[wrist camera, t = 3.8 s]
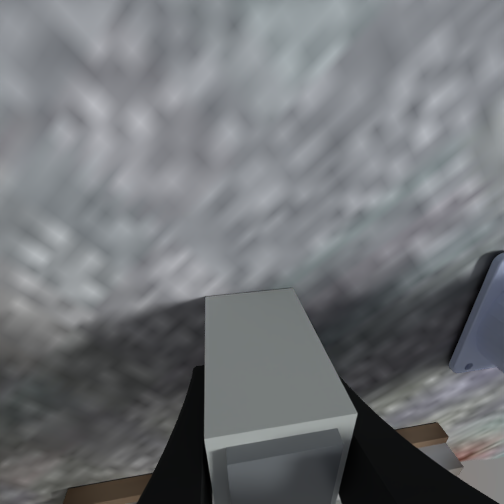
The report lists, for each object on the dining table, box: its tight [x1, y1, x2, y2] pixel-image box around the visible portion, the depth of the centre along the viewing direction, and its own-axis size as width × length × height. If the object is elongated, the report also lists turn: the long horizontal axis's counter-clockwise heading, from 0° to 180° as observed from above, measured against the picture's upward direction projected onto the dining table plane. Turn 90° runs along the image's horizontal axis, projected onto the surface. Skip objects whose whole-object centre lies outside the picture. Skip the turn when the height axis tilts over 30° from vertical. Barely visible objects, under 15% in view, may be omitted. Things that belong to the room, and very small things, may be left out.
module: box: [204, 288, 358, 504], centre depth 11 cm, size 4×6×6 cm, turn 1°
